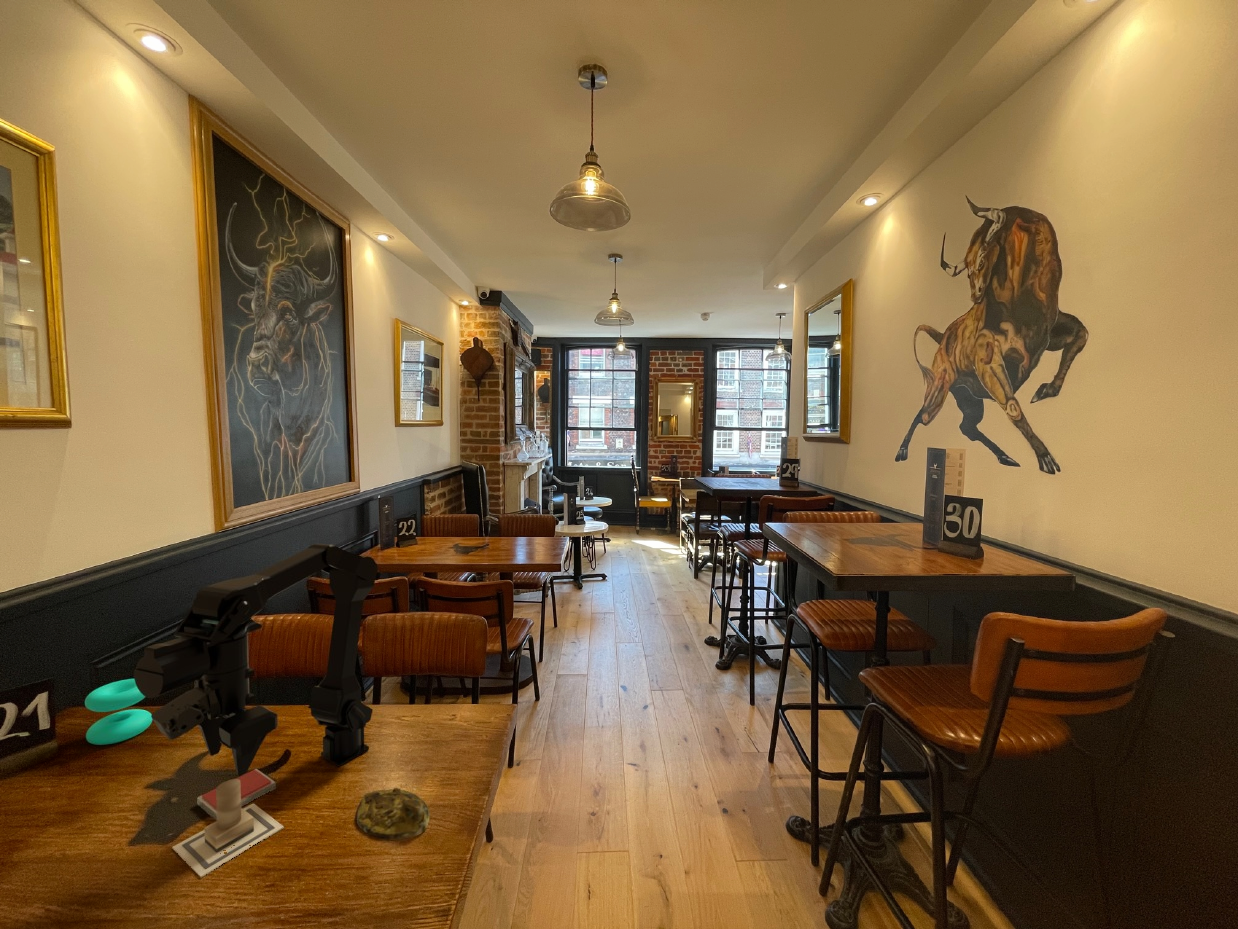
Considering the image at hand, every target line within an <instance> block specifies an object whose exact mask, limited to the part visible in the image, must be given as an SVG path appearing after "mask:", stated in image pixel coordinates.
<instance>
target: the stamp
mask: <svg viewBox="0 0 1238 929" xmlns="http://www.w3.org/2000/svg"><path fill="white" fill-rule="evenodd" d="M215 789H216V799H217V820H215V821H214V822H212V823H211V824H209V825H207V826H205V827H204V829H203V830H205V843H207V844H208V845H209V846H210V847H211V848H212V849H213V850H214V851H215V852H216V853H217V852H219V851H221V850H223V849H224V848H226V847H228V846H229V845H231V844H233V843H235V842H236V841H238V840H240V839H241V838H243V837H245V836H247V835H248V834H250V833H252V832H253V831H254V817H253V816H251V815H250V814H249V813H247V812H246V811H245V810H244V808H242V807H241V785H240V780H238V779H236V778H234V779H233V778H232V779H229V780H226V781H224V782H221V783H219V784H218V786H217V787H216V788H215Z"/></svg>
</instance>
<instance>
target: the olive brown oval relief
mask: <svg viewBox="0 0 1238 929" xmlns="http://www.w3.org/2000/svg"><path fill="white" fill-rule="evenodd" d="M429 822H430V810H429V808H428V805H427V804H426V802H425V801H424V800H423V798H421V797H420V796H418V795H417V794H415V793H413V792H410V791H408V790H403V789H401V788H399V787H393V789H382V790H381V789H380V790H374V791H371V792H367V793H365V794H364V795H362V798H361V800H360V802H359V805H358V807H357V811H356V823H357V825H358V827H359V828H360V829H361V830H362V831H363V832H365V833H366V834H367V835H370V836H373V837H375V838H379V839H384V840H389V841H390V840H391V841H393V840H402V839H407V838H412V837H413V838H414V837H417V836H419V835H422V834H423V833H425V832H426V830H427V828H428V825H429Z"/></svg>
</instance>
